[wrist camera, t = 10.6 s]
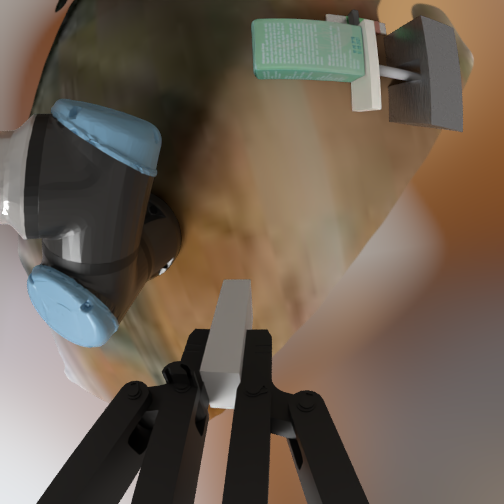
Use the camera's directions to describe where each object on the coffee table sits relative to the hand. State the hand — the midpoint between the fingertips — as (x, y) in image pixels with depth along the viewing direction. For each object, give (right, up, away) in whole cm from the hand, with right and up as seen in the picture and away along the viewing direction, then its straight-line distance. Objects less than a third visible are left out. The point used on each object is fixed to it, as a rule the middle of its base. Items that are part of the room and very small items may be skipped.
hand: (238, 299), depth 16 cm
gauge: (+19, +29, +14) cm, 37 cm away
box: (+8, +30, +15) cm, 34 cm away
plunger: (+21, +30, +13) cm, 39 cm away
